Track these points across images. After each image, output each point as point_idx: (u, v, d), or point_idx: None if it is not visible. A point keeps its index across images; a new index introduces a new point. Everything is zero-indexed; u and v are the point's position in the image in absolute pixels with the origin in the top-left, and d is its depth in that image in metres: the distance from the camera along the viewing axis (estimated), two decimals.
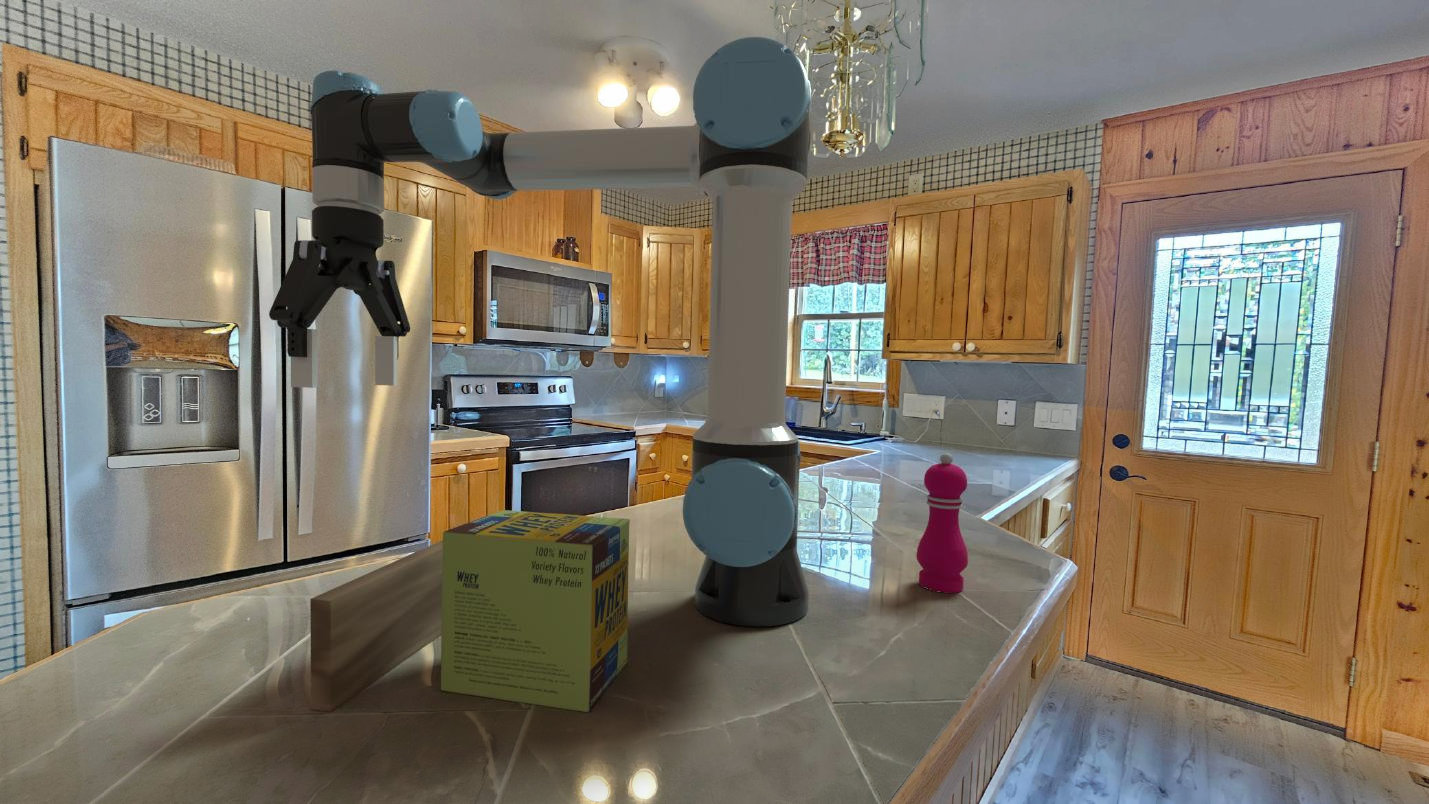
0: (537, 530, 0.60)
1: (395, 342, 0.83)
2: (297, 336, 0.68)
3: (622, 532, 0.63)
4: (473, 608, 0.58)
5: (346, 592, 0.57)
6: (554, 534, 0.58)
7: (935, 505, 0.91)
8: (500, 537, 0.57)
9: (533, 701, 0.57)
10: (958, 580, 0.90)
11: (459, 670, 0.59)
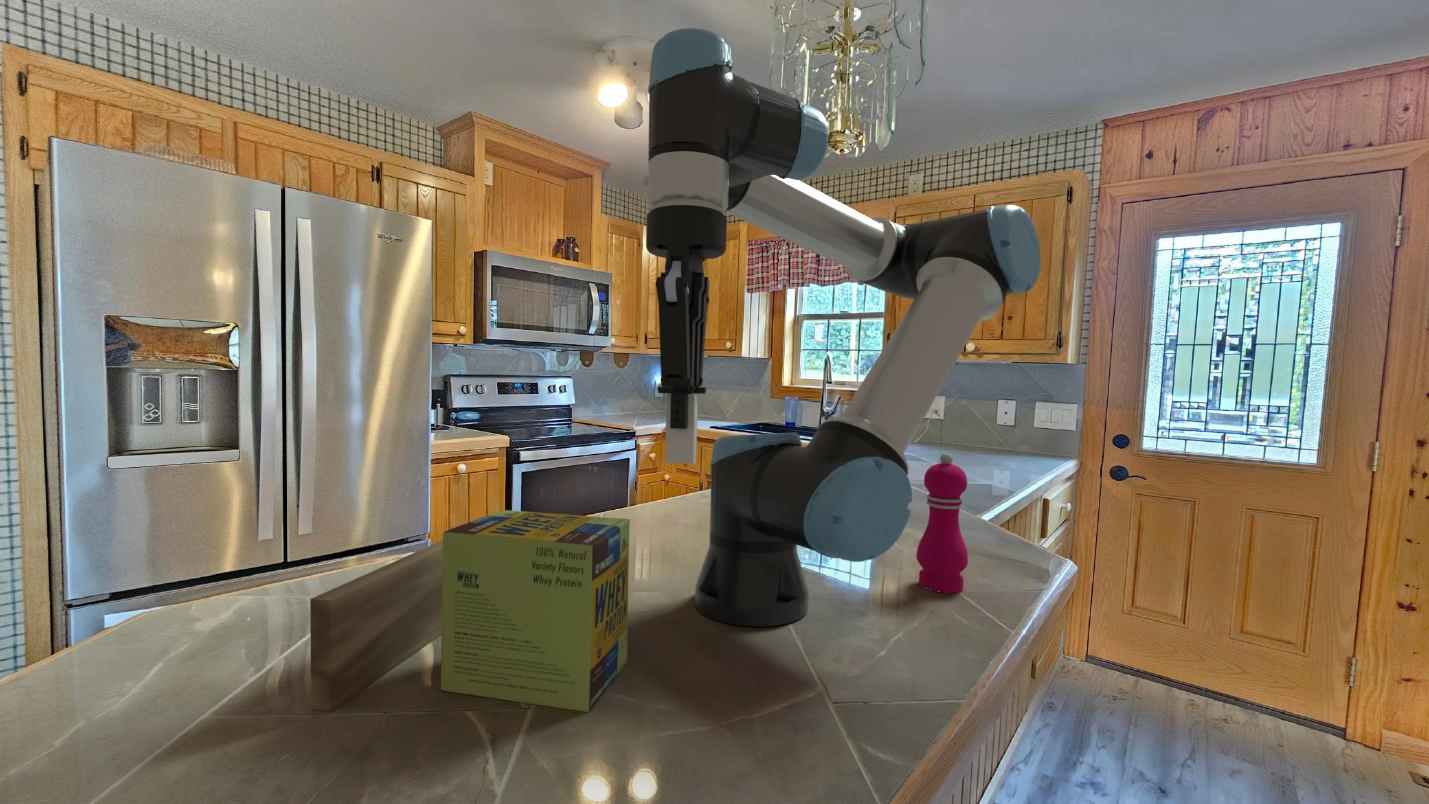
0: (537, 530, 0.60)
1: (696, 402, 0.59)
2: (684, 404, 0.57)
3: (622, 532, 0.63)
4: (473, 608, 0.58)
5: (346, 592, 0.57)
6: (554, 534, 0.58)
7: (935, 505, 0.91)
8: (500, 537, 0.57)
9: (533, 701, 0.57)
10: (958, 580, 0.90)
11: (459, 670, 0.59)
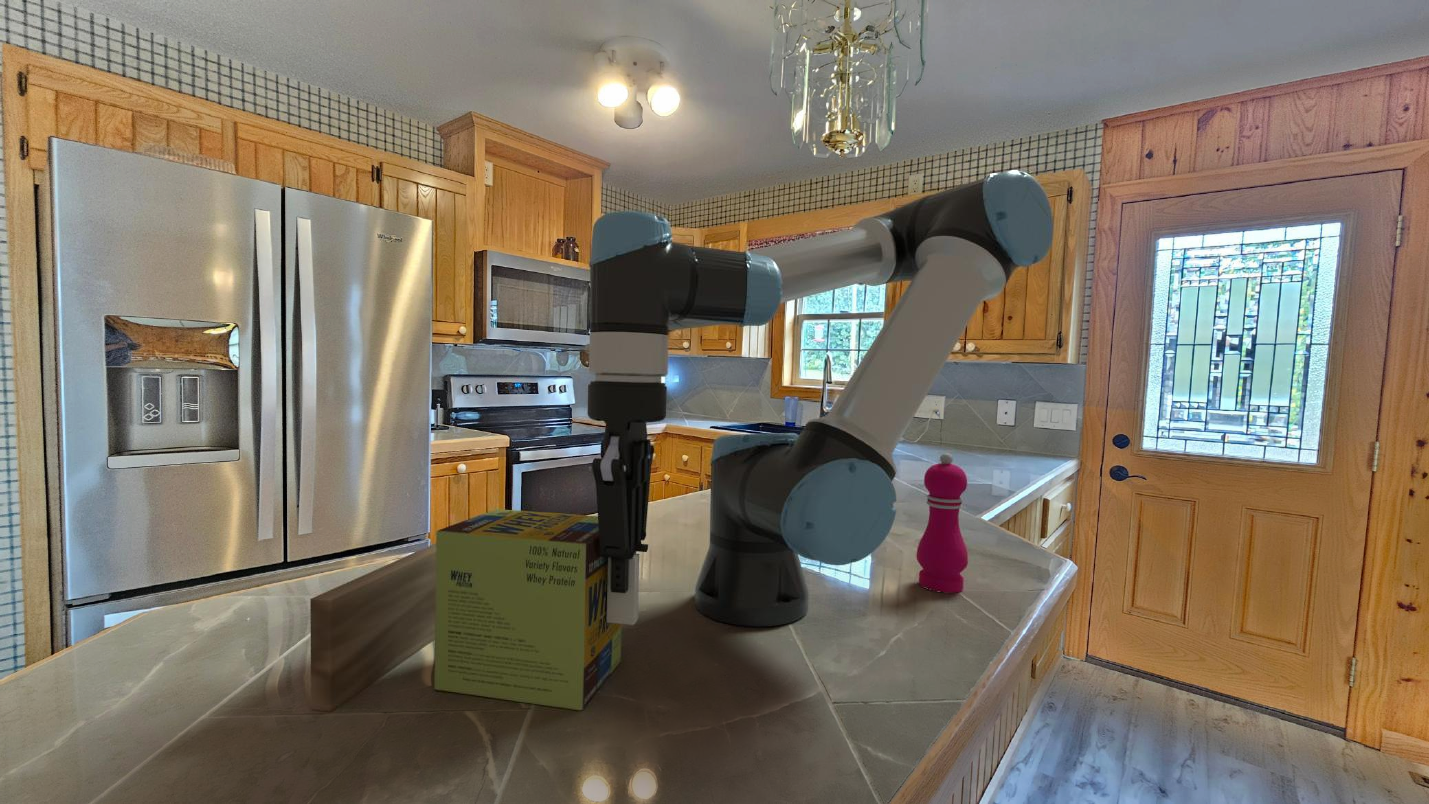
0: (531, 529, 0.60)
1: (638, 562, 0.61)
2: (624, 570, 0.59)
3: None
4: (467, 607, 0.58)
5: (346, 592, 0.57)
6: (548, 533, 0.59)
7: (935, 505, 0.91)
8: (494, 536, 0.57)
9: (527, 700, 0.57)
10: (958, 580, 0.90)
11: (452, 669, 0.59)
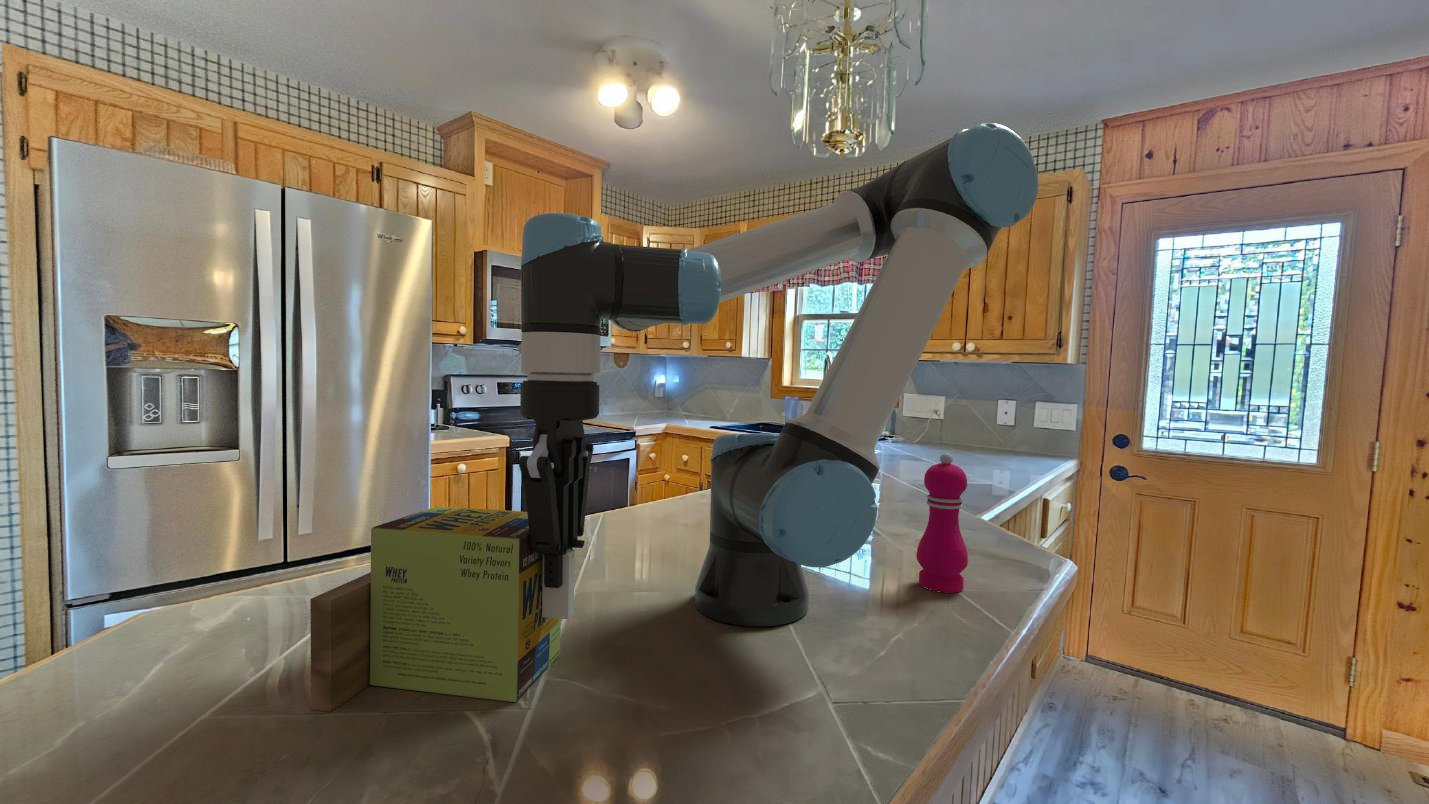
0: (467, 525, 0.61)
1: (573, 558, 0.62)
2: (557, 565, 0.60)
3: None
4: (402, 603, 0.59)
5: (346, 592, 0.57)
6: (483, 529, 0.59)
7: (935, 505, 0.91)
8: (428, 532, 0.58)
9: (462, 693, 0.58)
10: (958, 580, 0.90)
11: (387, 664, 0.59)
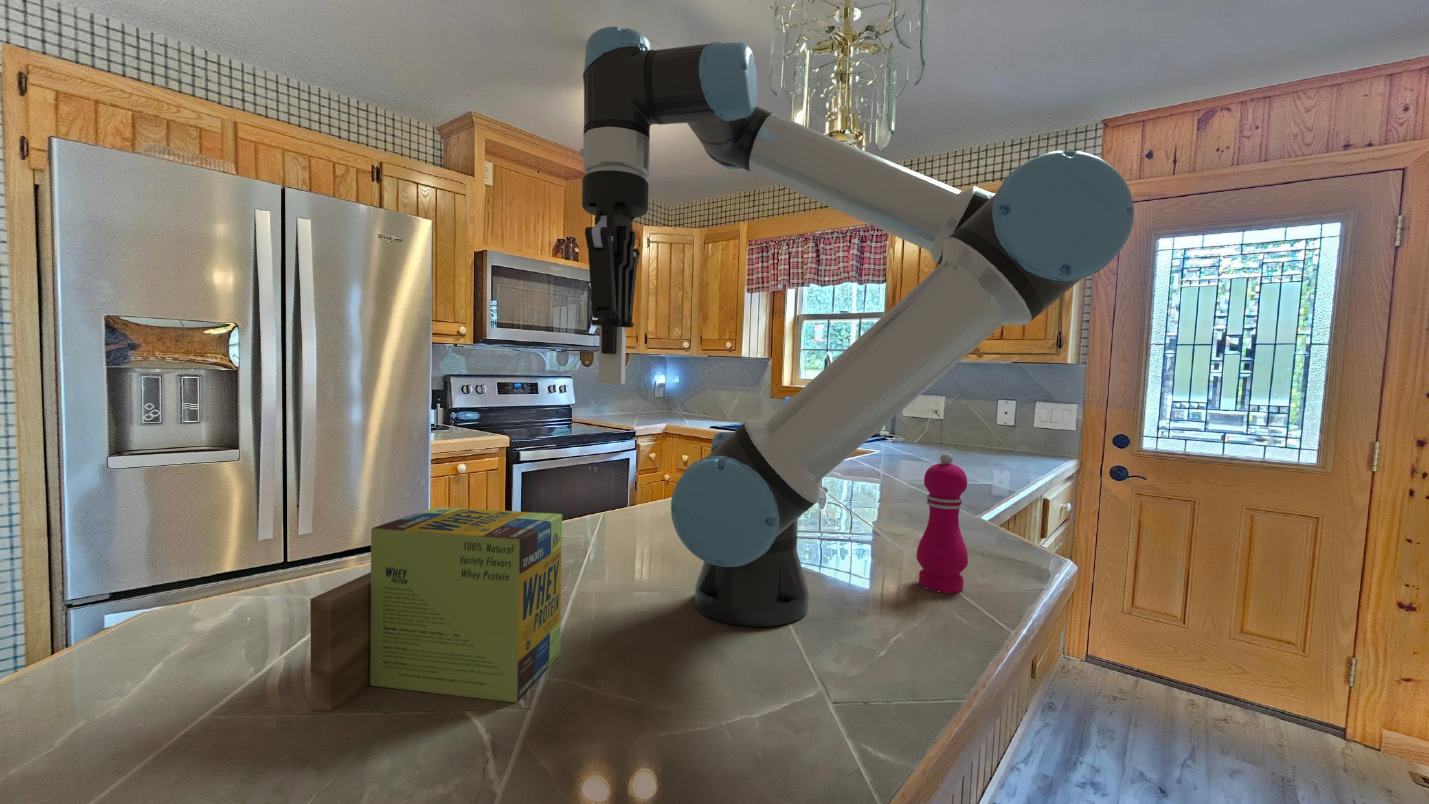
0: (467, 525, 0.61)
1: (624, 334, 0.73)
2: (612, 333, 0.70)
3: (553, 527, 0.64)
4: (402, 603, 0.59)
5: (346, 592, 0.57)
6: (483, 529, 0.60)
7: (935, 505, 0.91)
8: (429, 533, 0.58)
9: (462, 693, 0.58)
10: (958, 580, 0.90)
11: (388, 665, 0.59)
